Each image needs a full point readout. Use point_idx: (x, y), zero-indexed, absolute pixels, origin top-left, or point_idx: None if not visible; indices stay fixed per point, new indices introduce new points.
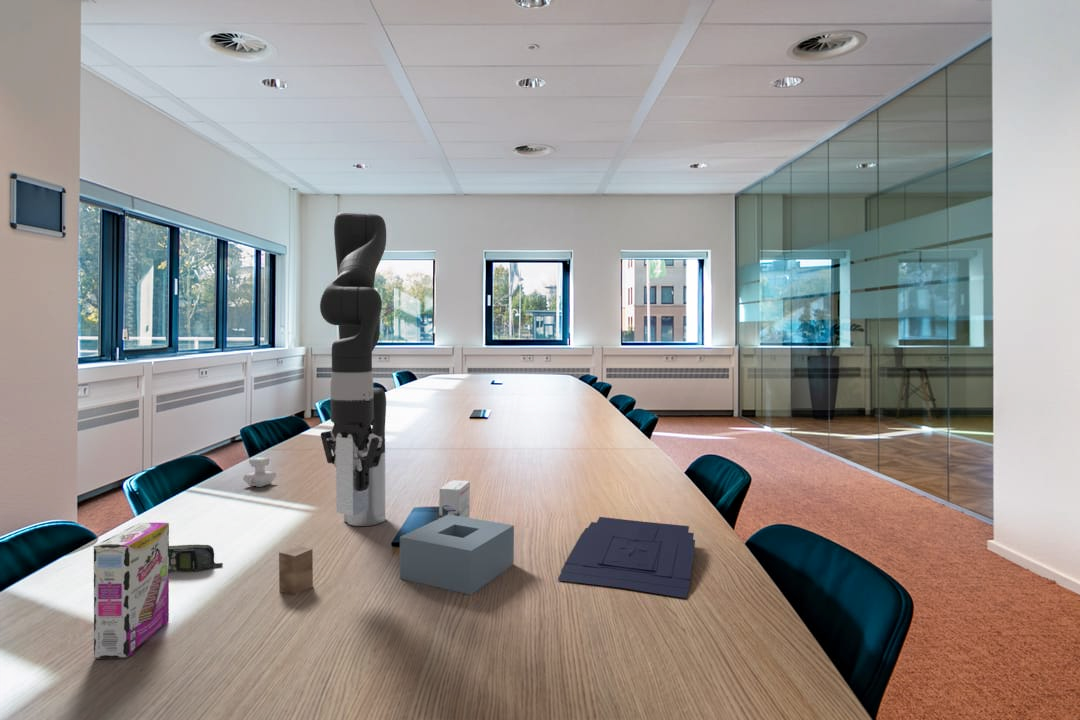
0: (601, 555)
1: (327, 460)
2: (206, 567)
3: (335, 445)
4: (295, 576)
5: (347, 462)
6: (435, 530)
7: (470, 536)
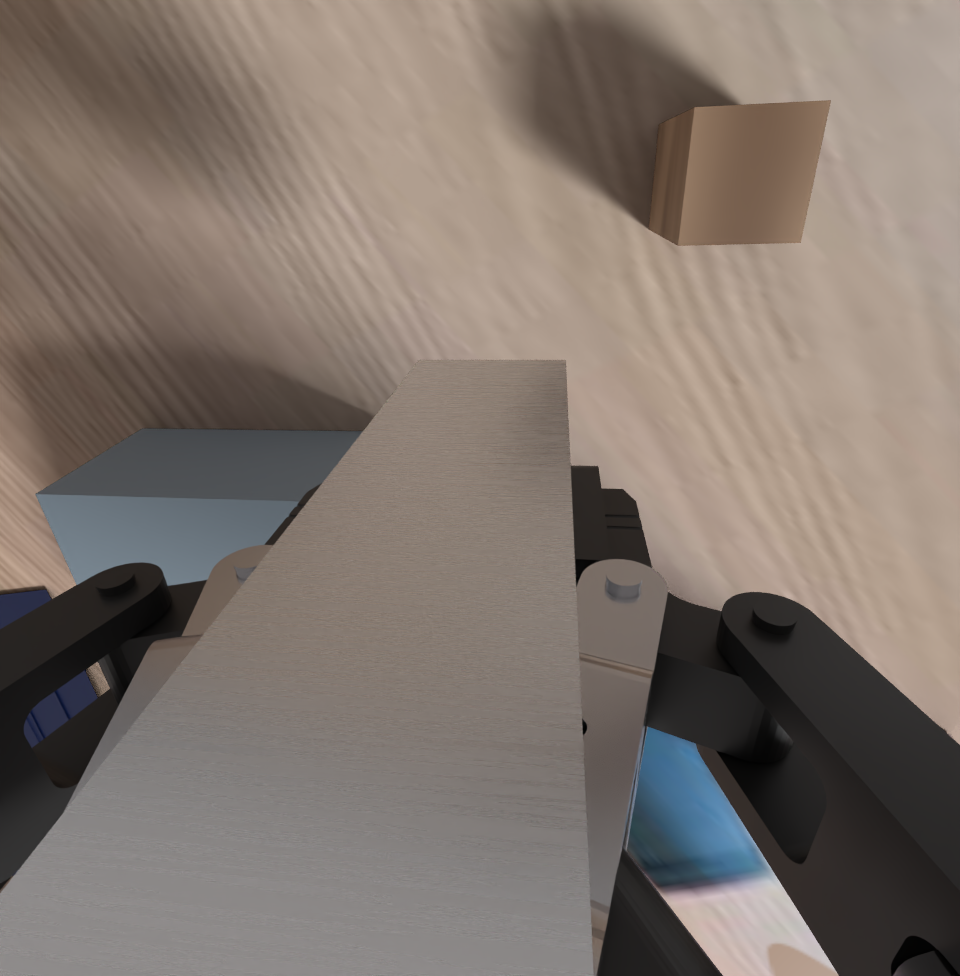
0: (37, 718)
1: (807, 617)
2: None
3: (832, 911)
4: (673, 121)
5: (358, 565)
6: None
7: None
